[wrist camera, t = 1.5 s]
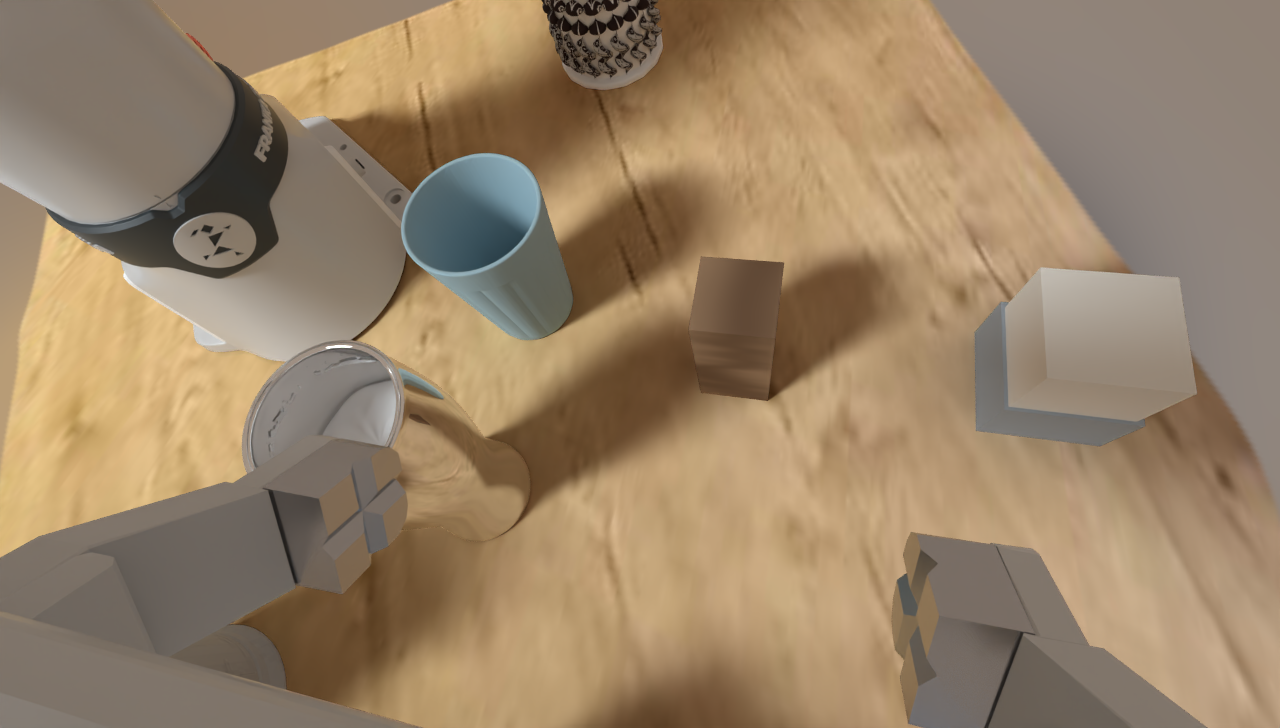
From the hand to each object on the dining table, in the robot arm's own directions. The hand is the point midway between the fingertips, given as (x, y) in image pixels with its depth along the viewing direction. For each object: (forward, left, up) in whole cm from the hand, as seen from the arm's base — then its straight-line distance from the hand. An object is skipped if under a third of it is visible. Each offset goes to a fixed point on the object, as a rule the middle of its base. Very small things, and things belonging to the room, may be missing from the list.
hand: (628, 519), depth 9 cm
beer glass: (-12, -8, -25) cm, 29 cm away
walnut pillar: (-9, +9, -25) cm, 28 cm away
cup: (-21, +1, -25) cm, 32 cm away
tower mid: (+2, +21, -21) cm, 29 cm away
